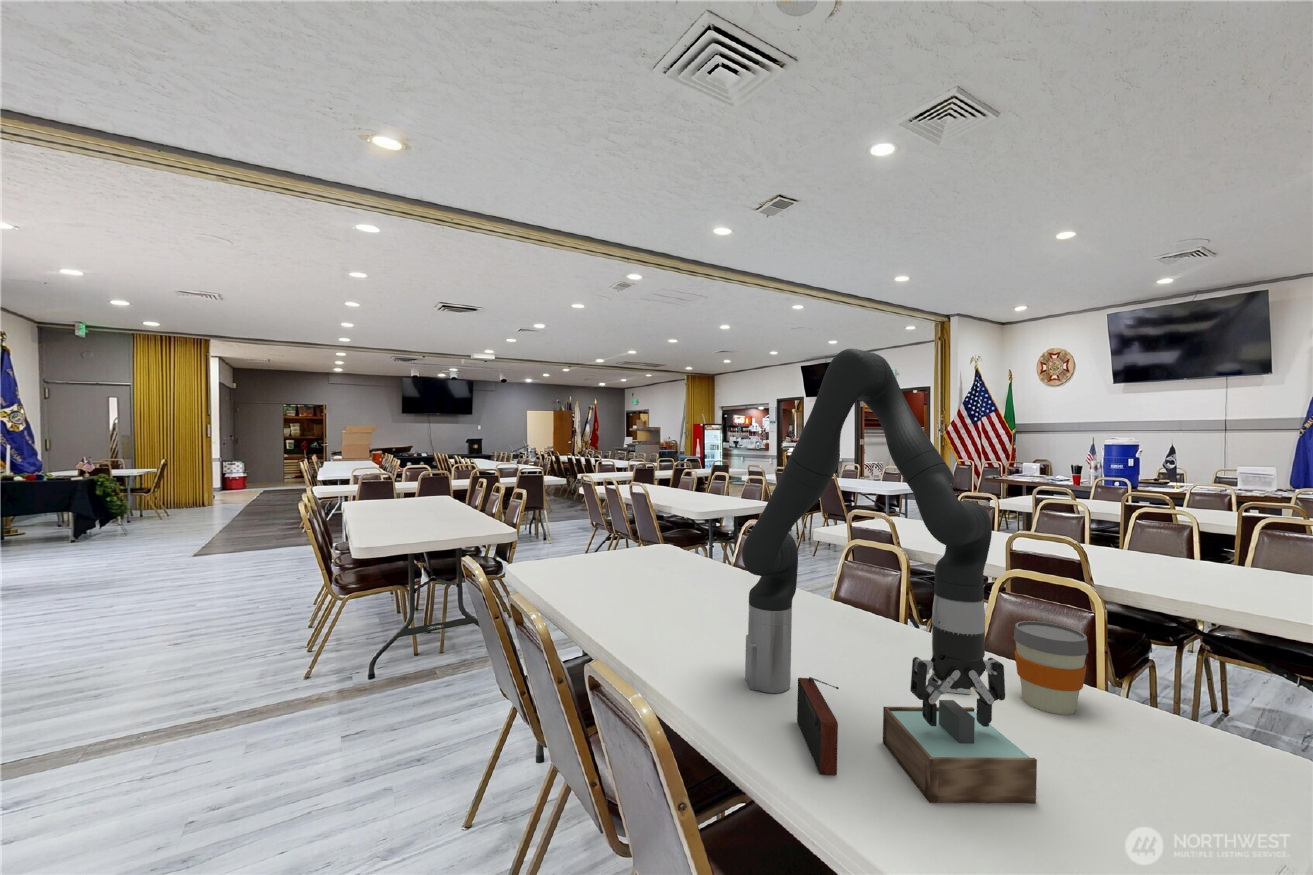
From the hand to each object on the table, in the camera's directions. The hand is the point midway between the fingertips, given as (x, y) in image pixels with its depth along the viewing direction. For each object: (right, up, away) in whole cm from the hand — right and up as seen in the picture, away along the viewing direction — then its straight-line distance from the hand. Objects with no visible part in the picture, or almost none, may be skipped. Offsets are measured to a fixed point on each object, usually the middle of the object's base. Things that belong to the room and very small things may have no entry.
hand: (956, 724), depth 90 cm
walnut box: (-1, -8, 0) cm, 8 cm away
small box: (+16, -8, +32) cm, 36 cm away
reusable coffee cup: (+32, -8, +24) cm, 41 cm away
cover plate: (0, -3, 0) cm, 3 cm away
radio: (-21, -7, +5) cm, 23 cm away
